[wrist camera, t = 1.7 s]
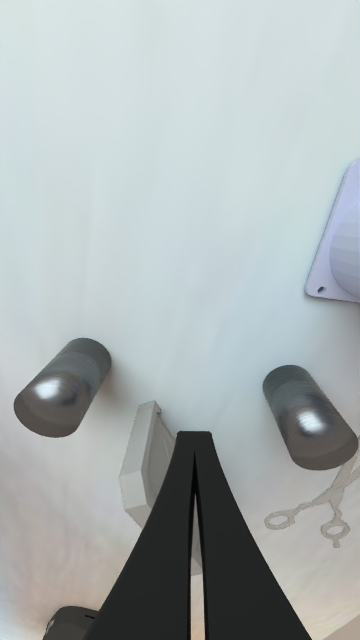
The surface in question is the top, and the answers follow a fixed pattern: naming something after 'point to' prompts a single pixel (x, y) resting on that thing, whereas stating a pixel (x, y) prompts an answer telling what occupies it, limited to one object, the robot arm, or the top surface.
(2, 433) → the top surface
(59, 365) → the post
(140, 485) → the light switch
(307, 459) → the post
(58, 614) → the media streaming box
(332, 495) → the scissors
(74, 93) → the top surface
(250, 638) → the robot arm
